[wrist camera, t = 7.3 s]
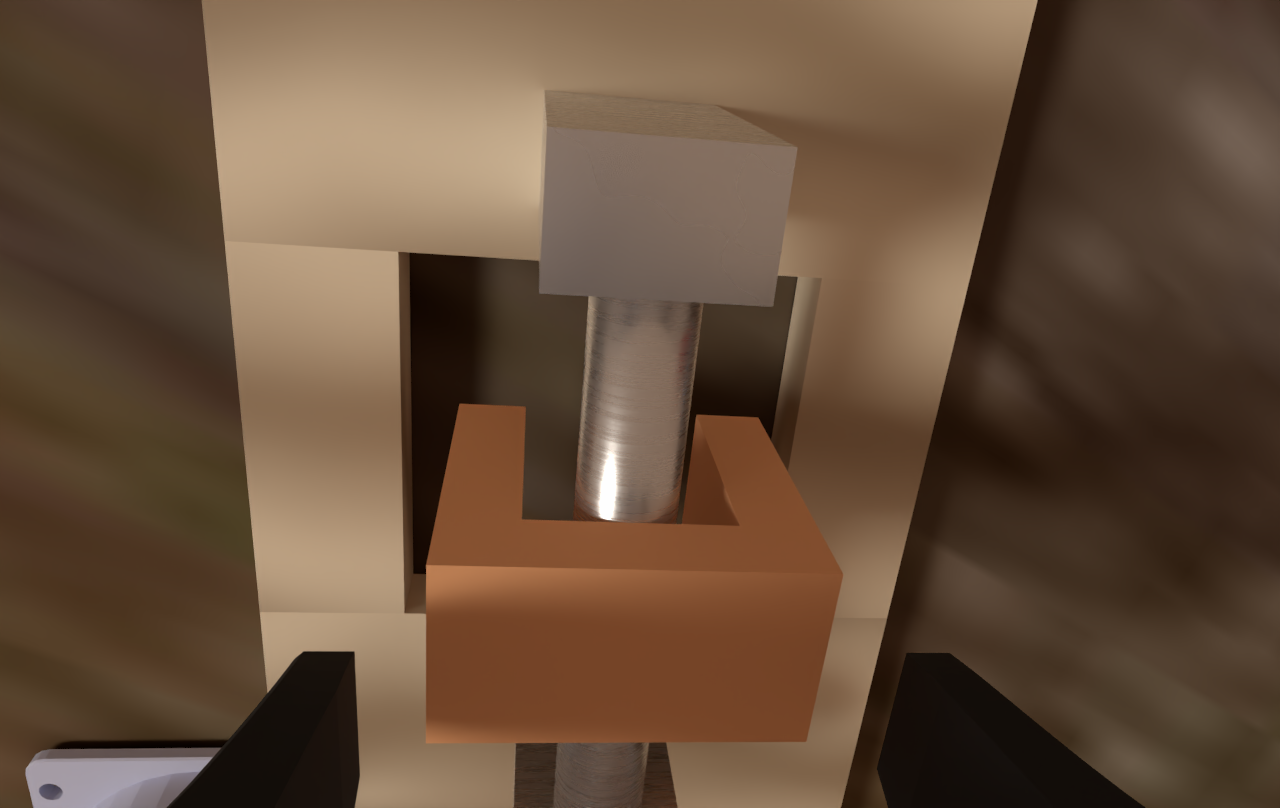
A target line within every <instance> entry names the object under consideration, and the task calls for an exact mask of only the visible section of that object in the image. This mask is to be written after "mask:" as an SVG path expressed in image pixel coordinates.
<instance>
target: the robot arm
mask: <svg viewBox="0 0 1280 808" xmlns="http://www.w3.org/2000/svg"><path fill="white" fill-rule="evenodd" d="M877 770H878V774H879V777H880V781H881V784H882V788H883V791H884V794H885V798H886V801H887V805H888V808H1145V807H1144V806H1142V805H1141V804H1140V803H1138V802H1137V801H1136V800H1134V799H1133V798H1132V797H1130V796H1129V795H1127V794H1126V793H1125V792H1123V791H1122V790H1121V789H1119V788H1118V787H1117V786H1116V785H1114V784H1113V783H1112V782H1110V781H1109V780H1108V779H1106V778H1105V777H1104V776H1102V775H1101V774H1100V773H1099V772H1097V771H1096V770H1095V769H1093V768H1092V767H1091V766H1090V765H1088V764H1087V763H1086V762H1084V761H1083V760H1082V759H1081V758H1079V757H1078V756H1077V755H1076V754H1074V753H1073V752H1072V751H1071V750H1069V749H1068V748H1067V747H1066V746H1064V745H1063V744H1062V743H1061V742H1059V741H1058V740H1057V739H1056V738H1054V737H1053V736H1052V735H1051V734H1050V733H1048V732H1047V731H1046V730H1045V729H1043V728H1042V727H1041V726H1040V725H1039V724H1037V723H1036V722H1035V721H1034V720H1032V719H1031V718H1030V717H1029V716H1028V715H1026V714H1025V713H1024V712H1023V711H1021V710H1020V709H1019V708H1018V707H1017V706H1015V705H1014V704H1013V703H1012V702H1011V701H1009V700H1008V699H1007V698H1006V697H1004V696H1003V695H1002V694H1001V693H1000V692H998V691H997V690H996V689H995V688H993V687H992V686H991V685H990V684H989V683H987V682H986V681H985V680H984V679H982V678H981V677H980V676H979V675H977V674H976V673H975V672H974V671H972V670H971V669H970V668H969V667H967V666H966V665H965V664H963V663H962V662H961V661H959V660H958V659H957V658H955V657H954V656H953V655H951V654H950V653H907V654H906V658H905V661H904V665H903V669H902V673H901V677H900V681H899V685H898V689H897V693H896V696H895V700H894V704H893V708H892V712H891V716H890V720H889V724H888V728H887V731H886V735H885V739H884V743H883V747H882V751H881V755H880V759H879V763H878V766H877ZM26 778H27V783H28V787H29V791H30V795H31V799H32V803H33V807H34V808H355V803H356V797H357V791H358V785H359V780H360V764H359V742H358V719H357V696H356V674H355V651H303V652H302V653H301V654H300V655H298V656H297V657H296V658H295V659H294V660H293V661H292V663H291V664H290V665H289V667H288V668H287V669H286V670H285V672H284V673H283V674H282V676H281V677H280V678H279V679H278V681H277V682H276V683H275V684H274V686H273V687H272V688H271V690H270V691H269V692H268V693H267V694H266V696H265V697H264V698H263V699H262V701H261V702H260V703H259V704H258V706H257V707H256V708H255V709H254V710H253V712H252V713H251V714H250V715H249V716H248V718H247V719H246V720H245V721H244V722H243V724H242V725H241V726H240V727H239V728H238V729H237V731H236V732H235V733H234V734H233V735H232V736H231V738H230V739H229V740H228V741H227V742H226V743H225V744H224V745H223V747H222V748H138V749H50V750H43V751H41V752H39V753H37V754H36V755H35V757H34V758H33V759H32V761H31V762H30V764H29V765H28V767H27V768H26ZM52 784H54V785H57V786H58V787H57V786H54V785H52Z"/></svg>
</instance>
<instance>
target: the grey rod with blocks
mask: <svg viewBox="0 0 1280 808" xmlns="http://www.w3.org/2000/svg"><path fill="white" fill-rule="evenodd" d="M797 149H798V147H796V146H794V145H792V144H790V143H788V142H786V141H784V140H782V139H780V138H778V137H776V136H775V135H773V134H771V133H769V132H767V131H765V130H763V129H761V128H759V127H757V126H755V125H753V124H751V123H749V122H747V121H745V120H743V119H741V118H739V117H737V116H735V115H733V114H732V113H730V112H728V111H726V110H724V109H722V108H720V107H718V106H716V105H710V104H699V103H687V102H676V101H664V100H653V99H642V98H630V97H619V96H607V95H596V94H585V93H573V92H562V91H550V90H544V106H543V128H542V150H541V172H540V194H539V293H541V294H558V295H575V296H589V301H588V315H587V329H586V343H585V357H584V372H583V386H582V400H581V414H580V429H579V443H578V457H577V471H576V486H575V500H574V514H573V521H591V522H625V523H659V524H676V521H677V513H678V505H679V496H680V488H681V480H682V472H683V464H684V456H685V448H686V440H687V432H688V424H689V415H690V407H691V399H692V391H693V383H694V375H695V367H696V359H697V351H698V343H699V334H700V326H701V318H702V310H703V303H715V304H732V305H749V306H767V307H773V303H774V296H775V290H776V283H777V277H778V270H779V264H780V258H781V251H782V245H783V238H784V232H785V226H786V219H787V213H788V206H789V200H790V193H791V187H792V181H793V174H794V168H795V161H796V155H797ZM513 808H678V807H677V801H676V795H675V790H674V784H673V778H672V773H671V767H670V761H669V756H668V750H667V744H666V742H653V743H515V755H514V785H513Z"/></svg>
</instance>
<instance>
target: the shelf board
mask: <svg viewBox="0 0 1280 808" xmlns="http://www.w3.org/2000/svg"><path fill="white" fill-rule="evenodd" d="M1037 1H1038V0H202V7H203V18H204V28H205V39H206V49H207V60H208V70H209V81H210V91H211V102H212V112H213V123H214V134H215V144H216V155H217V165H218V176H219V186H220V197H221V207H222V218H223V228H224V239H225V249H226V260H227V270H228V281H229V291H230V302H231V312H232V323H233V334H234V344H235V355H236V365H237V376H238V386H239V397H240V407H241V418H242V428H243V439H244V449H245V460H246V470H247V481H248V491H249V502H250V512H251V523H252V534H253V544H254V555H255V565H256V576H257V586H258V597H259V607H260V618H261V628H262V639H263V649H264V660H265V670H266V681H267V691H268V692H269V691H270V690H271V688H272V687H273V686H274V684H275V683H276V682H277V681H278V679H279V678H280V677H281V676H282V674H283V673H284V672H285V670H286V669H287V668H288V667H289V665H290V664H291V663H292V661H293V660H294V659H295V658H296V657H297V656H298V655H300V654H301V653H302V652H303V651H355V674H356V696H357V719H358V742H359V764H360V780H359V785H358V791H357V797H356V803H355V808H513V785H514V755H515V743H426V574H413V503H412V421H411V338H410V255H409V253H425V254H442V255H458V256H474V257H490V258H506V259H522V260H538V261H539V194H540V172H541V150H542V128H543V106H544V90H550V91H562V92H573V93H585V94H596V95H607V96H619V97H630V98H642V99H653V100H664V101H676V102H687V103H699V104H710V105H716V106H718V107H720V108H722V109H724V110H726V111H728V112H730V113H732V114H733V115H735V116H737V117H739V118H741V119H743V120H745V121H747V122H749V123H751V124H753V125H755V126H757V127H759V128H761V129H763V130H765V131H767V132H769V133H771V134H773V135H775V136H776V137H778V138H780V139H782V140H784V141H786V142H788V143H790V144H792V145H794V146H796V147H798V149H797V155H796V161H795V168H794V174H793V181H792V187H791V193H790V200H789V206H788V213H787V219H786V226H785V232H784V238H783V245H782V251H781V258H780V264H779V270H778V276H794V277H798V280H797V286H796V292H795V298H794V304H793V311H792V317H791V323H790V329H789V335H788V341H787V347H786V353H785V359H784V365H783V371H782V377H781V383H780V389H779V395H778V401H777V407H776V413H775V420H774V426H773V432H772V438H771V442H772V444H773V446H774V447H775V449H776V451H777V453H778V455H779V457H780V459H781V460H782V462H783V464H784V466H785V468H786V470H787V471H788V473H789V475H790V477H791V479H792V481H793V482H794V484H795V486H796V488H797V490H798V492H799V493H800V495H801V497H802V499H803V501H804V503H805V505H806V506H807V508H808V510H809V512H810V514H811V516H812V517H813V519H814V521H815V523H816V525H817V527H818V528H819V530H820V532H821V534H822V536H823V538H824V539H825V541H826V543H827V545H828V547H829V549H830V550H831V552H832V554H833V556H834V558H835V560H836V562H837V563H838V565H839V567H840V569H841V571H842V573H843V579H842V583H841V588H840V592H839V597H838V601H837V606H836V610H835V615H834V620H833V624H832V629H831V633H830V638H829V642H828V647H827V651H826V656H825V660H824V665H823V669H822V674H821V678H820V683H819V687H818V692H817V696H816V701H815V705H814V710H813V714H812V719H811V723H810V728H809V732H808V737H807V741H806V742H666V744H667V750H668V756H669V761H670V767H671V773H672V778H673V784H674V790H675V795H676V801H677V807H678V808H841V805H842V801H843V797H844V793H845V789H846V785H847V780H848V776H849V772H850V768H851V764H852V760H853V756H854V752H855V748H856V744H857V739H858V735H859V731H860V727H861V723H862V719H863V715H864V711H865V707H866V703H867V698H868V694H869V690H870V686H871V682H872V678H873V674H874V670H875V666H876V662H877V657H878V653H879V649H880V645H881V641H882V637H883V633H884V629H885V625H886V620H887V616H888V612H889V608H890V604H891V600H892V596H893V592H894V588H895V584H896V579H897V575H898V571H899V567H900V563H901V559H902V555H903V551H904V547H905V543H906V538H907V534H908V530H909V526H910V522H911V518H912V514H913V510H914V506H915V501H916V497H917V493H918V489H919V485H920V481H921V477H922V473H923V469H924V465H925V460H926V456H927V452H928V448H929V444H930V440H931V436H932V432H933V428H934V424H935V419H936V415H937V411H938V407H939V403H940V399H941V395H942V391H943V387H944V383H945V378H946V374H947V370H948V366H949V362H950V358H951V354H952V350H953V346H954V341H955V337H956V333H957V329H958V325H959V321H960V317H961V313H962V309H963V305H964V300H965V296H966V292H967V288H968V284H969V280H970V276H971V272H972V268H973V264H974V259H975V255H976V251H977V247H978V243H979V239H980V235H981V231H982V227H983V222H984V218H985V214H986V210H987V206H988V202H989V198H990V194H991V190H992V186H993V181H994V177H995V173H996V169H997V165H998V161H999V157H1000V153H1001V149H1002V145H1003V140H1004V136H1005V132H1006V128H1007V124H1008V120H1009V116H1010V112H1011V108H1012V103H1013V99H1014V95H1015V91H1016V87H1017V83H1018V79H1019V75H1020V71H1021V67H1022V62H1023V58H1024V54H1025V50H1026V46H1027V42H1028V38H1029V34H1030V30H1031V26H1032V21H1033V17H1034V13H1035V9H1036V5H1037Z"/></svg>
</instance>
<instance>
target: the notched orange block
mask: <svg viewBox="0 0 1280 808" xmlns="http://www.w3.org/2000/svg"><path fill="white" fill-rule="evenodd" d="M525 414H526V407H522V406H500V405H478V404H459V408H458V413H457V418H456V423H455V428H454V433H453V437H452V442H451V447H450V452H449V457H448V462H447V466H446V471H445V476H444V481H443V486H442V491H441V496H440V500H439V505H438V510H437V515H436V520H435V525H434V530H433V534H432V539H431V544H430V549H429V554H428V559H427V564H426V743H653V742H806V741H807V737H808V732H809V728H810V723H811V719H812V714H813V710H814V705H815V701H816V696H817V692H818V687H819V683H820V678H821V674H822V669H823V665H824V660H825V656H826V651H827V647H828V642H829V638H830V633H831V629H832V624H833V620H834V615H835V610H836V606H837V601H838V597H839V592H840V588H841V583H842V579H843V573H842V571H841V569H840V567H839V565H838V563H837V562H836V560H835V558H834V556H833V554H832V552H831V550H830V549H829V547H828V545H827V543H826V541H825V539H824V538H823V536H822V534H821V532H820V530H819V528H818V527H817V525H816V523H815V521H814V519H813V517H812V516H811V514H810V512H809V510H808V508H807V506H806V505H805V503H804V501H803V499H802V497H801V495H800V493H799V492H798V490H797V488H796V486H795V484H794V482H793V481H792V479H791V477H790V475H789V473H788V471H787V470H786V468H785V466H784V464H783V462H782V460H781V459H780V457H779V455H778V453H777V451H776V449H775V447H774V446H773V444H772V442H771V440H770V438H769V436H768V435H767V433H766V431H765V429H764V427H763V425H762V424H761V422H760V420H759V418H758V417H738V416H716V415H696V421H695V429H694V436H693V444H692V451H691V459H690V466H689V474H688V482H687V489H686V497H685V504H684V512H683V519H682V524H659V523H625V522H591V521H557V520H522V500H523V471H524V443H525Z"/></svg>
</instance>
